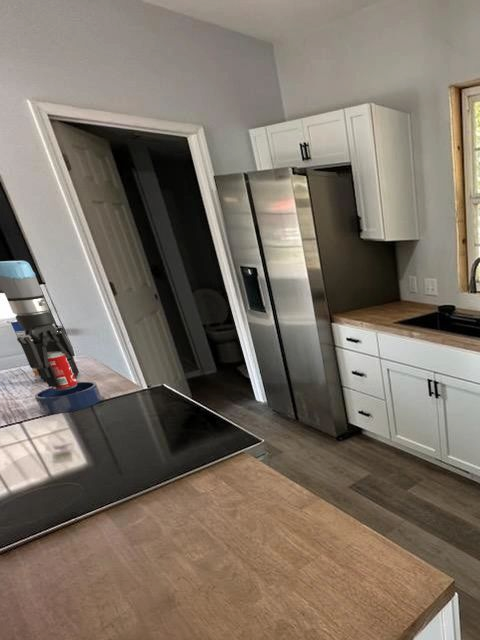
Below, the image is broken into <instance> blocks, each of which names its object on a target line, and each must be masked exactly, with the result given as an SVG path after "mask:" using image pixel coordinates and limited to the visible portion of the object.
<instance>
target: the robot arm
mask: <svg viewBox="0 0 480 640" xmlns="http://www.w3.org/2000/svg"><path fill="white" fill-rule="evenodd" d="M0 294H4V296H5V298H6V300H7V302H8V304H9V306H10V309H11V311H12V313H13V314H15V320H17V322H18V324H19V326H20V327H22V328H24V329H25V336H23V337H16V340H17V342H18V343H19V344H20V346H21V345H22V346H21V348H22V350H23V353H24V355H25V357H26V360H27V362H28V364H29V367H30V368H31V369H32V368H36V369H37V368H38V369H40V371H41V374H42V376H43V377H44V378H45V379H46V381H45V382H46V383H47V385H48V386H47V387H49V388H52V387H59V386H61V385H60V383H59V381H58V379H57V376H56V374H55V372H54V370H53V368H52V367H49V363H48V356H47V350H46V346H47V345H49V346H50V347H51V349H52V350H53V351H61V353H63V354H65V356H66V358H67V360H68V363H69V365H70V367H71V370H72V372H73V374H74V377H75V379H76V380H77V379H78V377H77V376H76V375H75V372H74V370H73V365H72V363H71V360H73V359H74V357H75V356H76V354H75V351H74V349H73V347H72V346H71V343H70V341H69V340H68V337H67V335H66V329H65V327H55V326H54V324H55V322H56V321H55V319H54V316H53V314H52V312H50V308H49V305H48V303H47V301H46V299H45V296H44V293H43V291H42V288H41V286H40V284H39V282H38V278H37V276H36V273H35V271H34V270H33V268H32V266H31V264H30V263H29V262H28V261H26V260H4V261H0ZM38 343H41V344H38ZM67 352H69V353H67ZM72 356H73V357H72ZM74 360H75V359H74ZM42 363H43V364H42Z"/></svg>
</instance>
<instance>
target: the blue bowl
mask: <svg viewBox="0 0 480 640" xmlns="http://www.w3.org/2000/svg"><path fill="white" fill-rule="evenodd" d="M34 399H35V401H36V403H37V405H38V407H39V409H40V411H41V413H42V414H45V415H52V414H53V415H55V414H56V415H57V414H63V413H69V412H74V411H78V410H82V409H86V408H88V407H92V406H95V405H97V404H98V403H100V402H101V401H102V400H103V397H102V394H101V391H100V389H99V387H98V384H97V383H96V382H94V381H77V386H76V387H74V388H71V389H67V390H61V391H56V390H54V389H53V388H52V387H49V388H45V389H43V390H41V391H39V392H37V393H35V394H34Z"/></svg>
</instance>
